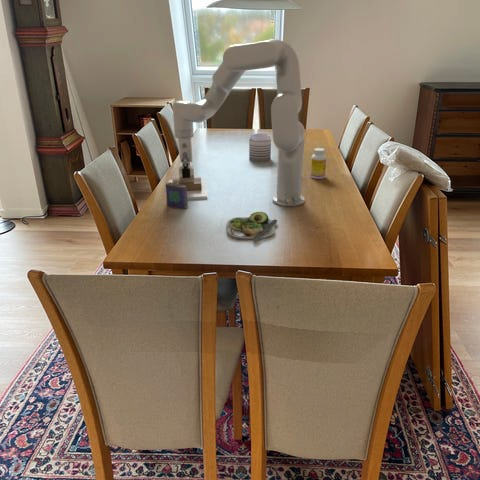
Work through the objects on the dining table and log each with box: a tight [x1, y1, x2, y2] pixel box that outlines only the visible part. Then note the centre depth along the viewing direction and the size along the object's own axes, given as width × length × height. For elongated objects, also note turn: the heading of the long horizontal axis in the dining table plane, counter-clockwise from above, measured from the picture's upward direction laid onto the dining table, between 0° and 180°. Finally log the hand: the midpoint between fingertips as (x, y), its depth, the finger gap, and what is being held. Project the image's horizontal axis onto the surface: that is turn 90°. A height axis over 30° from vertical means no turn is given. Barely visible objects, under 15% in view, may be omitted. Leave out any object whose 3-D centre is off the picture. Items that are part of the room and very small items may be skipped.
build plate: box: [168, 178, 208, 201], centre depth 196 cm, size 22×16×1 cm
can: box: [248, 133, 273, 164], centre depth 234 cm, size 11×11×12 cm
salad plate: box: [226, 211, 278, 242], centre depth 158 cm, size 19×18×5 cm
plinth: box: [171, 176, 202, 191], centre depth 195 cm, size 8×12×3 cm, turn 96°
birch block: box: [178, 164, 195, 183], centre depth 193 cm, size 4×6×6 cm
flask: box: [165, 180, 189, 210], centre depth 177 cm, size 9×3×11 cm, turn 63°
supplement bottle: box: [309, 147, 327, 180], centre depth 209 cm, size 7×7×13 cm
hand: (186, 174), depth 193 cm, fingers open, 9 cm apart
